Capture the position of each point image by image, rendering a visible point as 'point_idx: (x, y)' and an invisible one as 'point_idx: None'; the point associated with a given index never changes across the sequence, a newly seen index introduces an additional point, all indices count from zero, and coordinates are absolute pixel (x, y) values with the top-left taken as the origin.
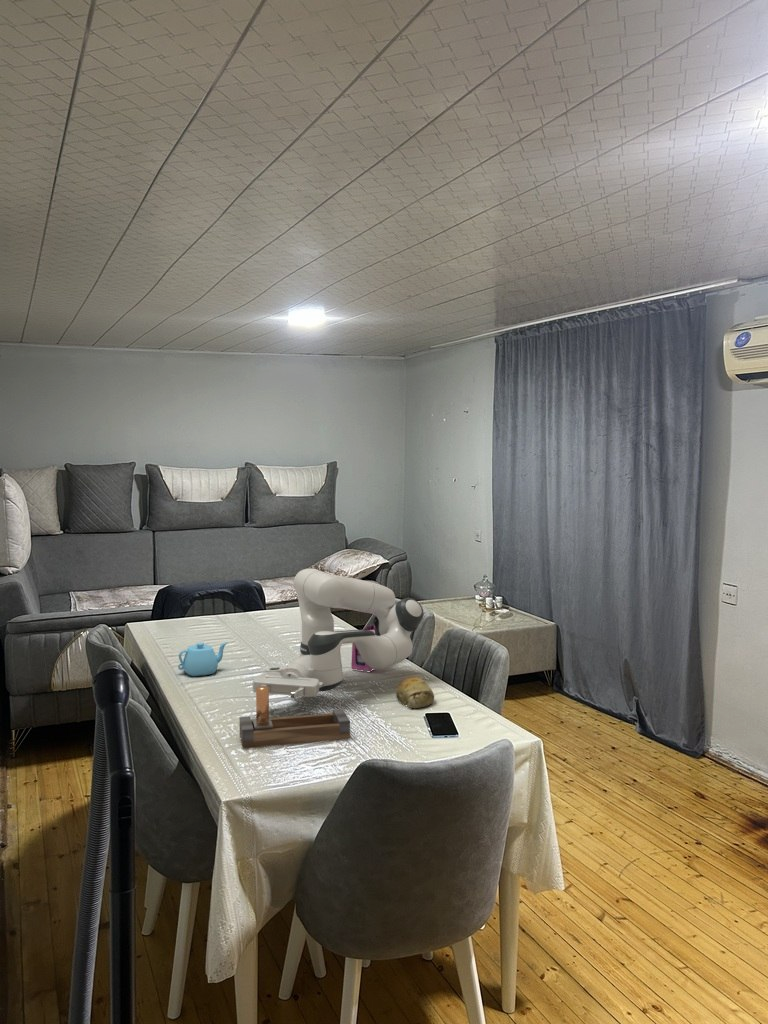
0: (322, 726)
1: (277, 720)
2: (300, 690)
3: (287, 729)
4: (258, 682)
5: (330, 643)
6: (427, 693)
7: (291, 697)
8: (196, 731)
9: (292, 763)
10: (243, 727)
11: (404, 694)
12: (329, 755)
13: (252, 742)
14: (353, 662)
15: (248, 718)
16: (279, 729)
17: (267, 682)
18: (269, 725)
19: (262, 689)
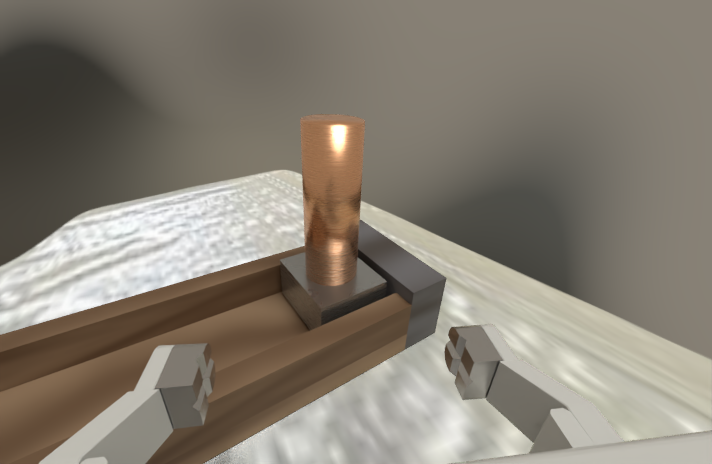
0: (35, 327)
1: (292, 342)
2: (89, 427)
3: (219, 273)
4: (694, 433)
5: None
6: None
7: (210, 369)
8: (581, 314)
9: (195, 238)
10: (369, 229)
11: None
12: (70, 283)
13: None
14: None
15: (404, 277)
16: (251, 267)
17: (595, 452)
18: (292, 257)
19: (321, 115)
